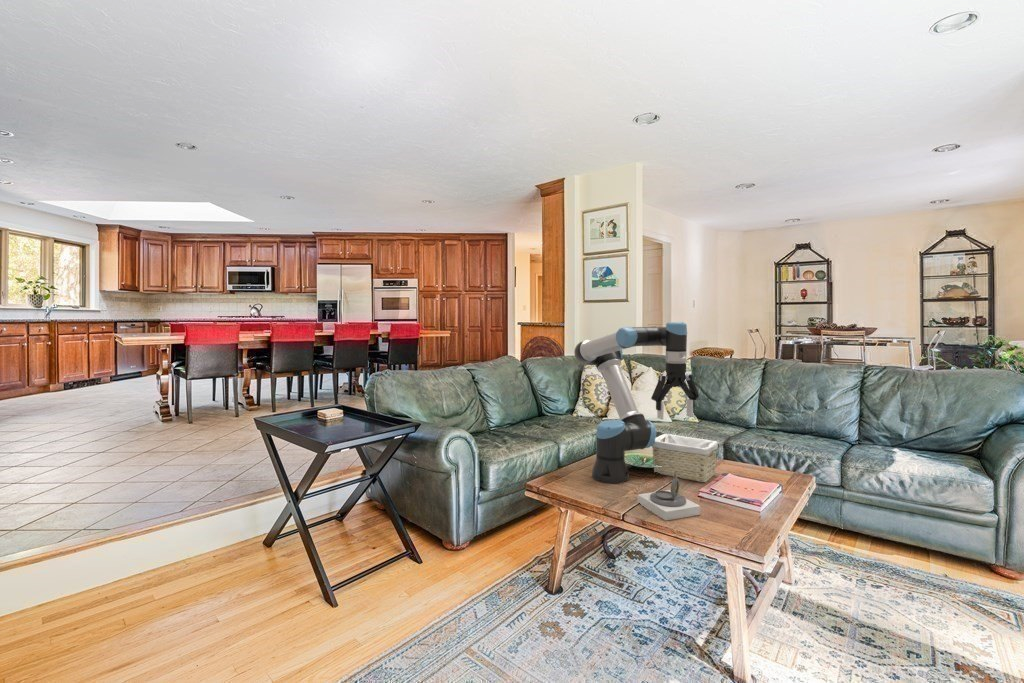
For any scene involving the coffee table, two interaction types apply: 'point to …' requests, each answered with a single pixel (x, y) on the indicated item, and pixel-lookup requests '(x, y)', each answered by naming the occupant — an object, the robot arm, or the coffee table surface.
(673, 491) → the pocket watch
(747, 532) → the coffee table surface
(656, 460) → the storage basket
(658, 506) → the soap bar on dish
